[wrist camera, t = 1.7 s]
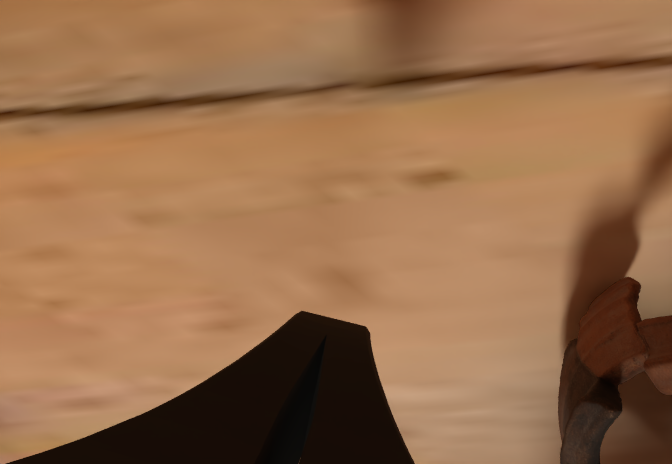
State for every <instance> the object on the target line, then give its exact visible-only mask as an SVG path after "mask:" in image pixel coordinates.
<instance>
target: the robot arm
mask: <svg viewBox="0 0 672 464" xmlns="http://www.w3.org/2000/svg"><path fill="white" fill-rule="evenodd" d="M298 463H299V464H415V463H414V461H413V459H412V457H411V455H410V453H409V451H408V449H407V447H406V445H405V443H404V441H403V438H402V436H401V434H400V431H399V429H398V427H397V425H396V422H395V420H394V417H393V415H392V412H391V410H390V407H389V405H388V402H387V399H386V396H385V393H384V390H383V387H382V385H381V382H380V379H379V375H378V372H377V368H376V364H375V361H374V357H373V352H372V347H371V340H370V332H369V331H368V329H367V328H366V326H362V325H358V324H354V323H350V322H345V321H341V320H337V319H333V318H329V317H325V316H321V315H317V314H313V313H309V312H305V311H301V312H299V313H297V314H295V315H294V316H293V317H292V318H291V319H290V320H289V321H287V322H286V323H285V324H284V325H283V326H281V327H280V328H279V329H278V330H277V331H275V332H274V333H273V334H272V335H270V336H269V337H268V338H267V339H265V340H264V341H263V342H261V343H260V344H259V345H257V346H256V347H254V348H253V349H252V350H250V351H249V352H248V353H246V354H245V355H244V356H242V357H241V358H239V359H238V360H236V361H235V362H234V363H232V364H231V365H229V366H227V367H226V368H224V369H223V370H221V371H219V372H218V373H216V374H215V375H213V376H212V377H210V378H208V379H207V380H205V381H204V382H202V383H200V384H199V385H197V386H195V387H194V388H192V389H190V390H188V391H186V392H185V393H183V394H181V395H179V396H177V397H176V398H174V399H172V400H170V401H168V402H166V403H164V404H162V405H160V406H158V407H156V408H154V409H152V410H150V411H148V412H145V413H143V414H141V415H139V416H136V417H134V418H131V419H129V420H126V421H124V422H121V423H119V424H117V425H114V426H112V427H109V428H107V429H104V430H102V431H99V432H97V433H95V434H92V435H90V436H87V437H85V438H82V439H79V440H77V441H74V442H71V443H68V444H65V445H62V446H59V447H56V448H53V449H51V450H48V451H45V452H42V453H39V454H35V455H32V456H29V457H26V458H23V459H19V460H16V461H13V462H10V463H6V464H298Z"/></svg>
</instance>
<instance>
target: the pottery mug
mask: <svg viewBox="0 0 672 464" xmlns="http://www.w3.org/2000/svg"><path fill="white" fill-rule="evenodd" d="M640 289H641V285H640V283H639V282H637V281H636V280H634V279H633V278H631V277H625V278H623V279H621V280H620V281H618V282H616V283H615V284H613V285H612V286H610V287H609V288H608V289H607V290H606V291H604V292H603V293H602V294H601V295H599V296H598V297H597V298H596V299H595V300H594V301H593V302H592V304H591V305H590V307H589V309H588V312H587V313H586V315H585V316H584V317H583V318H582V319H581V320H580V322H579V325H580V331H579V333H578V339H574V340H572V341H571V342H570V343H569V344H568V346H567V348H566V350H565V353H564V359H563V364H562V370H561V376H560V387H559V396H558V400H559V402H558V417H559V427H560V434H561V439H562V447H561V452H560V464H600V447H601V443H602V440H603V438H604V435H605V433H606V431H607V430H608V428H609V427H610V426H611V424H612V423H613V422H614V420H615V419H616V418H618V416H619V415H620V414H621V412H622V400H621V398H620V393H619V391H618V385H619V384H622V383H623V382H626V381H627V380H629V379H632V378H633V377H634V376H635V375H637V374H639V373H641V372H643V371H645V372H646V373H647V375H648V376H649V378H650V379H651V381H652V382H653V384H654V385H655V387H656V388H657V389H658V390H659V391H660V392H661V393H663V394H665V395H672V316H665V317H657V318H652V319H645V320H643V321H642V320H641V318H640V314H639V312H638V309H637V302H638V299H639V293H640Z"/></svg>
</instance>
